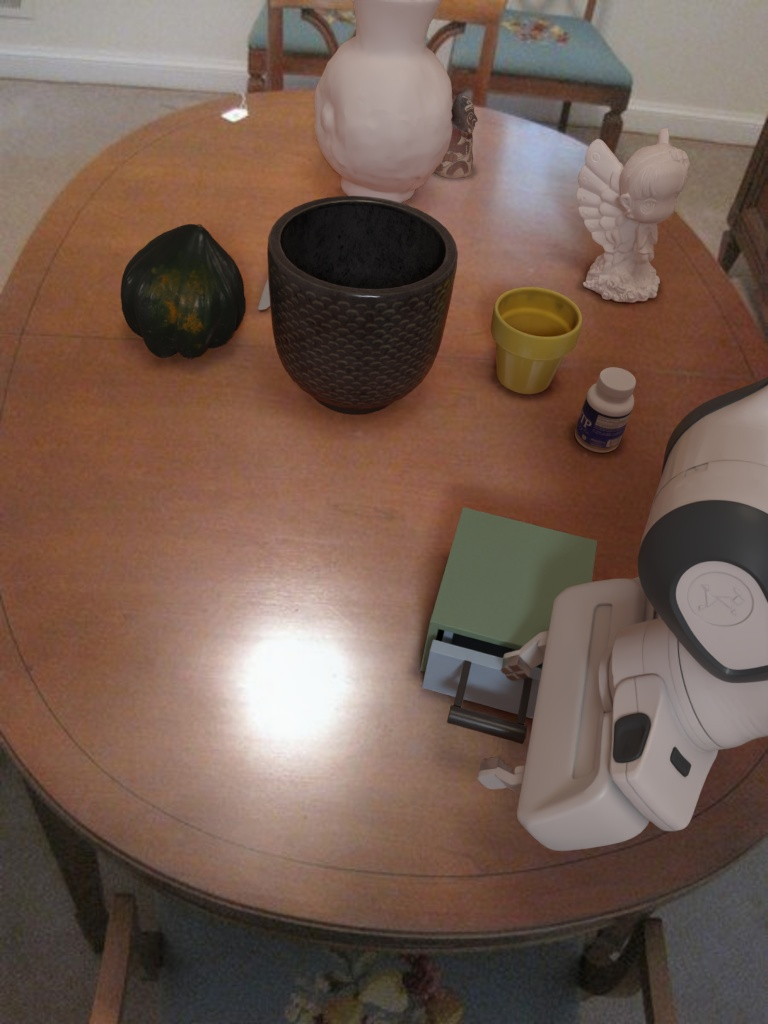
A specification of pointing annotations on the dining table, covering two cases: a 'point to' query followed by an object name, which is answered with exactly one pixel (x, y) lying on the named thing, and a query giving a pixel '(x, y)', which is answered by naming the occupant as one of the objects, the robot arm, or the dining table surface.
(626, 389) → the pill bottle
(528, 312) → the flower pot
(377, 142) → the vase
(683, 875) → the dining table surface
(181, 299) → the squash
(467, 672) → the cabinet drawer
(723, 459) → the robot arm
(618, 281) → the cherub figurine
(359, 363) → the planter
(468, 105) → the figurine
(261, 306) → the butter knife
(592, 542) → the green drawer cabinet
